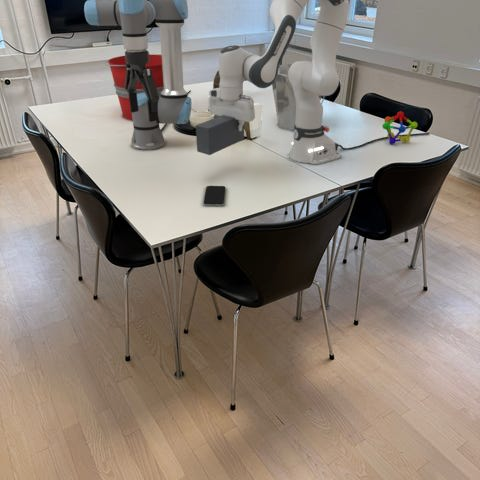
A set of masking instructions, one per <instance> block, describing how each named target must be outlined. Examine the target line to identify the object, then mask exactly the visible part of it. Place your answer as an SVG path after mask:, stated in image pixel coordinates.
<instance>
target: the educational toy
mask: <svg viewBox="0 0 480 480" xmlns="http://www.w3.org/2000/svg"><path fill="white" fill-rule="evenodd" d="M397 119H399V124H400V125H399V127H398V126H393V125H391V124H392V123H394V122H395V121H396V120H397ZM403 120H404V121H405V122H407V123H408V124H409V125H407V126H404V123H403ZM417 127H418V122H417V121H411V120H410V119H409V118H408V117H406V116H405V113H404V112H403V111H401V110H400V111H398V112H397V114H396V115H394V116H391V117H390V116H386V117H385V118H384V122H383V123H382V129H383V130H386V132H387V137H388V138H387V139H388V142H389V145H395V144H396V143H397V142H402V141H403V142H404V143H409V142H410V140H411V138H410V134H412V132H413V131H414V130H415V129H417ZM392 129H393V130H397V131H398V132H396V134H395V133H394V132H392ZM408 129H409V131H408V133H407V134H408V135H407V136H401V137H400V136H399V135H401V134H403V133H405V132H406V130H408Z"/></svg>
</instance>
